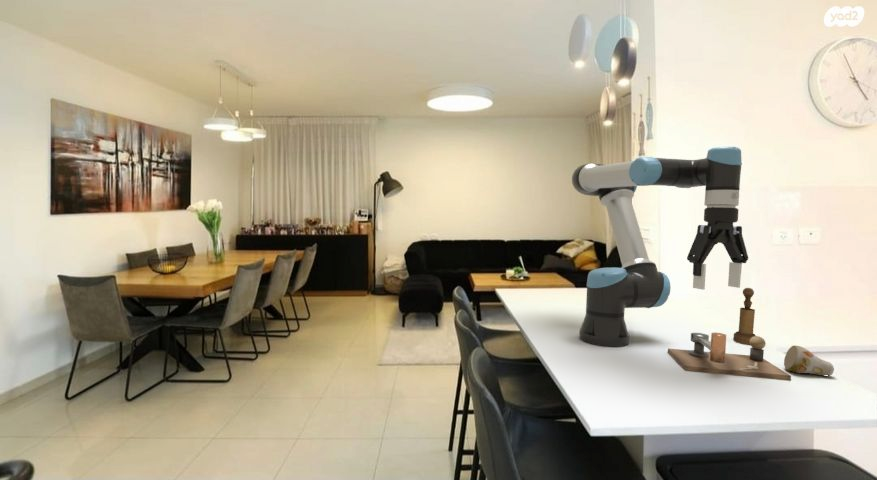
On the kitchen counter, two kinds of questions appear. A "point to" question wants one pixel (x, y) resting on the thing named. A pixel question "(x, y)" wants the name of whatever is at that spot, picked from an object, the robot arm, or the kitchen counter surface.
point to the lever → (712, 345)
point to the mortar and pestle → (746, 319)
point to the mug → (806, 362)
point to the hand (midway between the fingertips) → (716, 287)
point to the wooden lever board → (730, 362)
